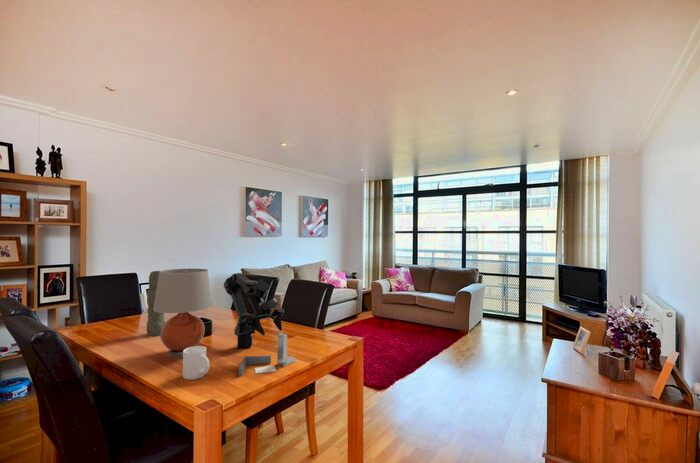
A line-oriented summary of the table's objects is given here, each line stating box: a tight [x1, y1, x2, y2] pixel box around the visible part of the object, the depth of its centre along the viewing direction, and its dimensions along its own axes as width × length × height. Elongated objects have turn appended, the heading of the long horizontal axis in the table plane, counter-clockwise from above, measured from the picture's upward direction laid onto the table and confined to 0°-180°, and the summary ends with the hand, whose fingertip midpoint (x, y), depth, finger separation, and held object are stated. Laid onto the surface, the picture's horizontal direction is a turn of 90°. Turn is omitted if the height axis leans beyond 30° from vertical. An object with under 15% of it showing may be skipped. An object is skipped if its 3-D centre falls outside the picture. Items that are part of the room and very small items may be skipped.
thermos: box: [146, 270, 166, 338], centre depth 183 cm, size 9×12×35 cm
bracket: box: [276, 332, 297, 367], centre depth 144 cm, size 7×4×13 cm, turn 140°
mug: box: [182, 345, 210, 381], centre depth 129 cm, size 12×8×10 cm
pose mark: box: [254, 365, 277, 375], centre depth 136 cm, size 8×6×1 cm
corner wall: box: [238, 354, 272, 377], centre depth 137 cm, size 11×13×3 cm
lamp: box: [153, 268, 213, 359], centre depth 155 cm, size 25×25×39 cm
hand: (273, 332), depth 146 cm, fingers open, 9 cm apart
